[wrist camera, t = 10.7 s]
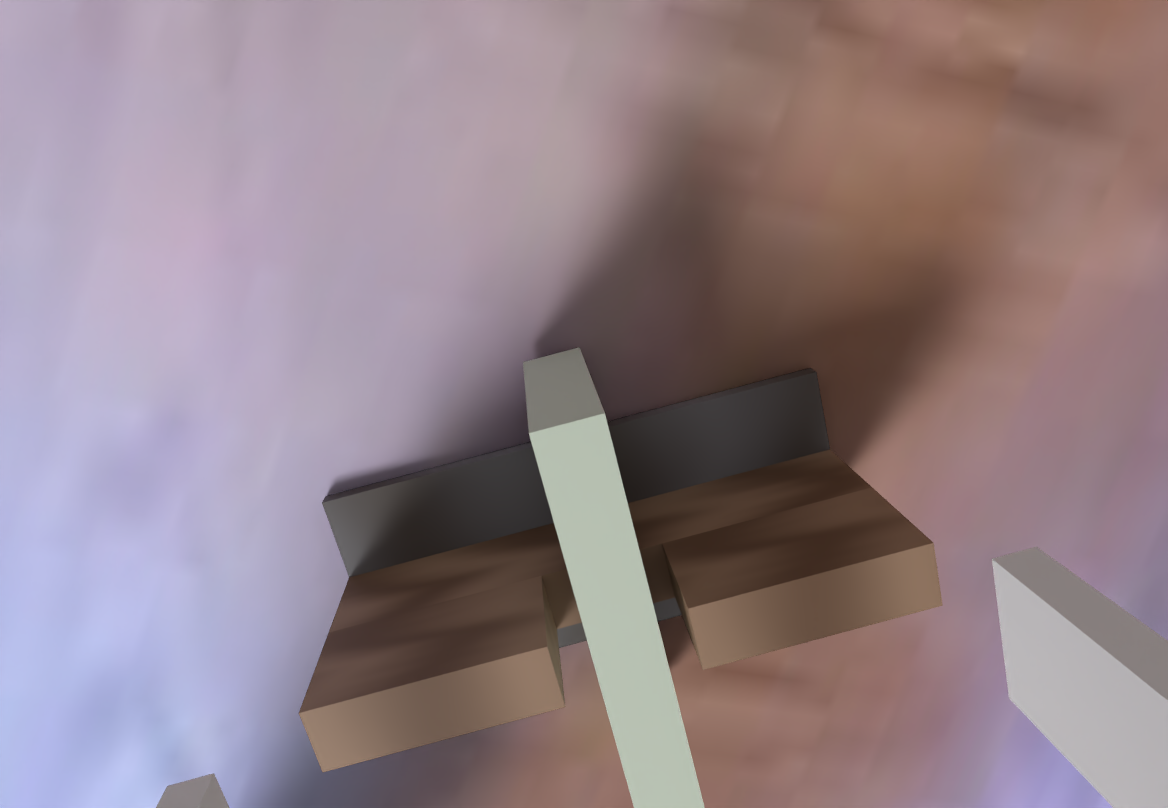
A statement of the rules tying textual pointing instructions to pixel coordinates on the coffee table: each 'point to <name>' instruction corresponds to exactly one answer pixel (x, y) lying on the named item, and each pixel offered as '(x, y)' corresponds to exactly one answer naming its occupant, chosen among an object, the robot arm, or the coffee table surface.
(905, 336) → the coffee table surface
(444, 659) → the brown piece
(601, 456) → the pale green upright panel
